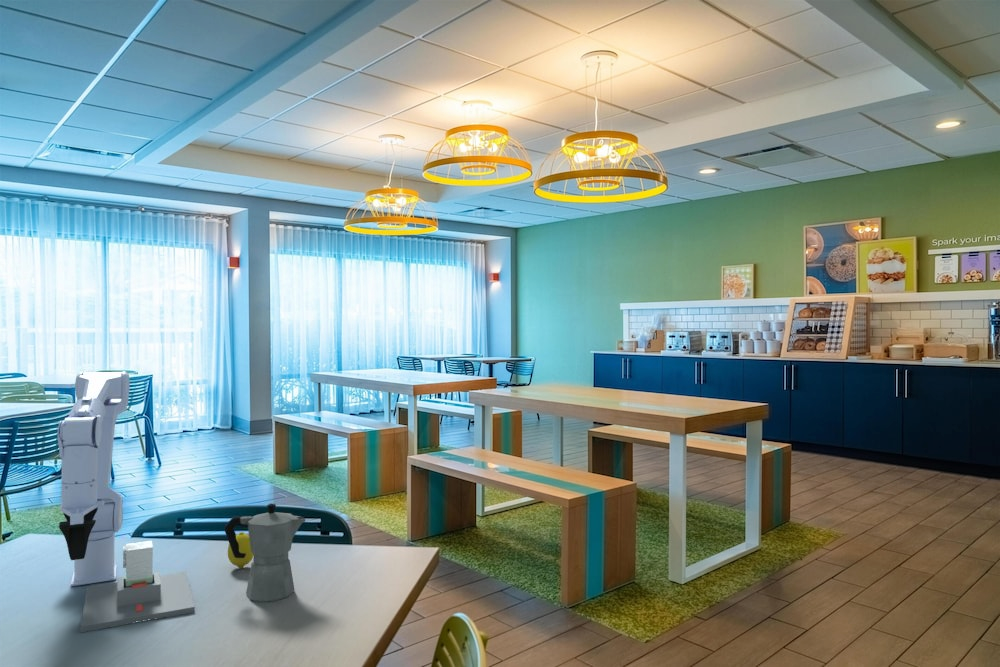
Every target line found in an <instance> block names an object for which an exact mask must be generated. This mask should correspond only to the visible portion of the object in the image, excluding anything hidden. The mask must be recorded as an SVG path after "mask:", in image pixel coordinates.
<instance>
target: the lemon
mask: <svg viewBox="0 0 1000 667" xmlns="http://www.w3.org/2000/svg"><path fill="white" fill-rule="evenodd" d="M236 540H237V542H238V544H239V552H240V553H246V556H245V558H235V557H234V555H233V552H232V549H231V546H230V544H229V543H228V548H227V557H228V560H229V561H230V563H231V564H232V565H234V566H236V567H238V568H239V569H243V568H244V567H245V566H246V565H248V564H249V563H250V562H251V561H252V560H253V558H254V555H253V554H252V552H251V546H250V539H249V533H246V532H245V533H244V532H243V531H240V532H239V533H237V534H236Z"/></svg>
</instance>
